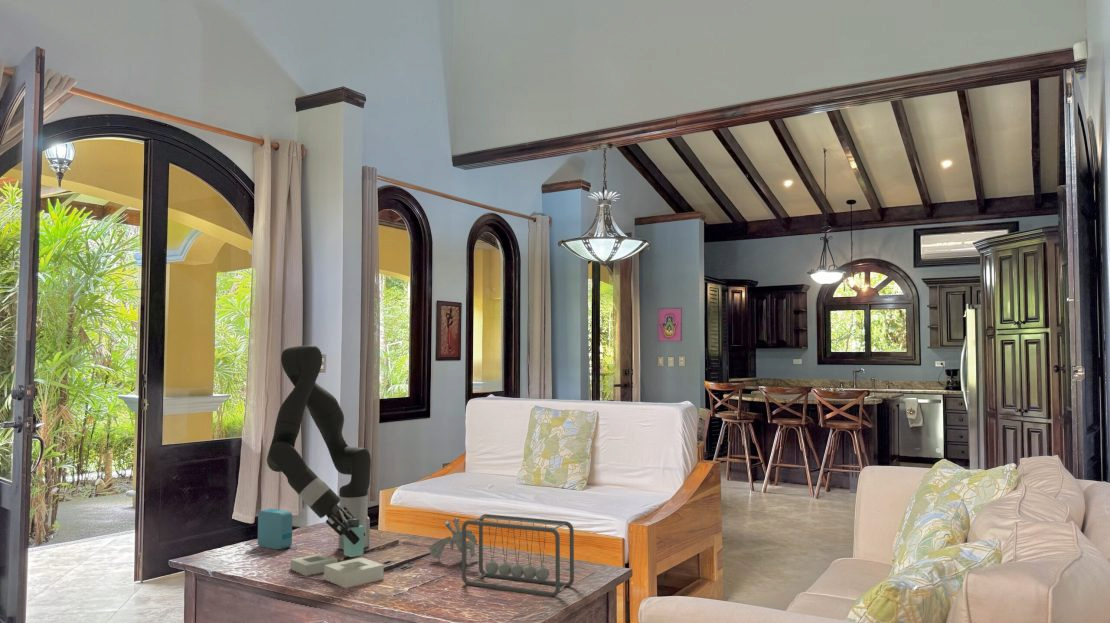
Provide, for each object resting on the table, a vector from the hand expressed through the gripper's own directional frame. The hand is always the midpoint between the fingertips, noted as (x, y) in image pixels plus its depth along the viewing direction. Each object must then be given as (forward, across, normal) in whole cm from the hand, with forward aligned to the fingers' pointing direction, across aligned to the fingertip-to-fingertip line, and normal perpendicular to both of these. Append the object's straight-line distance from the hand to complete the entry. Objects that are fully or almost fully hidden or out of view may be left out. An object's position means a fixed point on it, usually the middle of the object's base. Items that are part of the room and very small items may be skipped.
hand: (360, 539), depth 216 cm
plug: (+2, 0, +4) cm, 5 cm away
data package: (-20, +39, +36) cm, 56 cm away
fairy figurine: (+26, +19, -10) cm, 34 cm away
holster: (-4, +11, +20) cm, 23 cm away
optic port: (+7, 0, +9) cm, 11 cm away
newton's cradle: (+40, -7, -24) cm, 47 cm away
